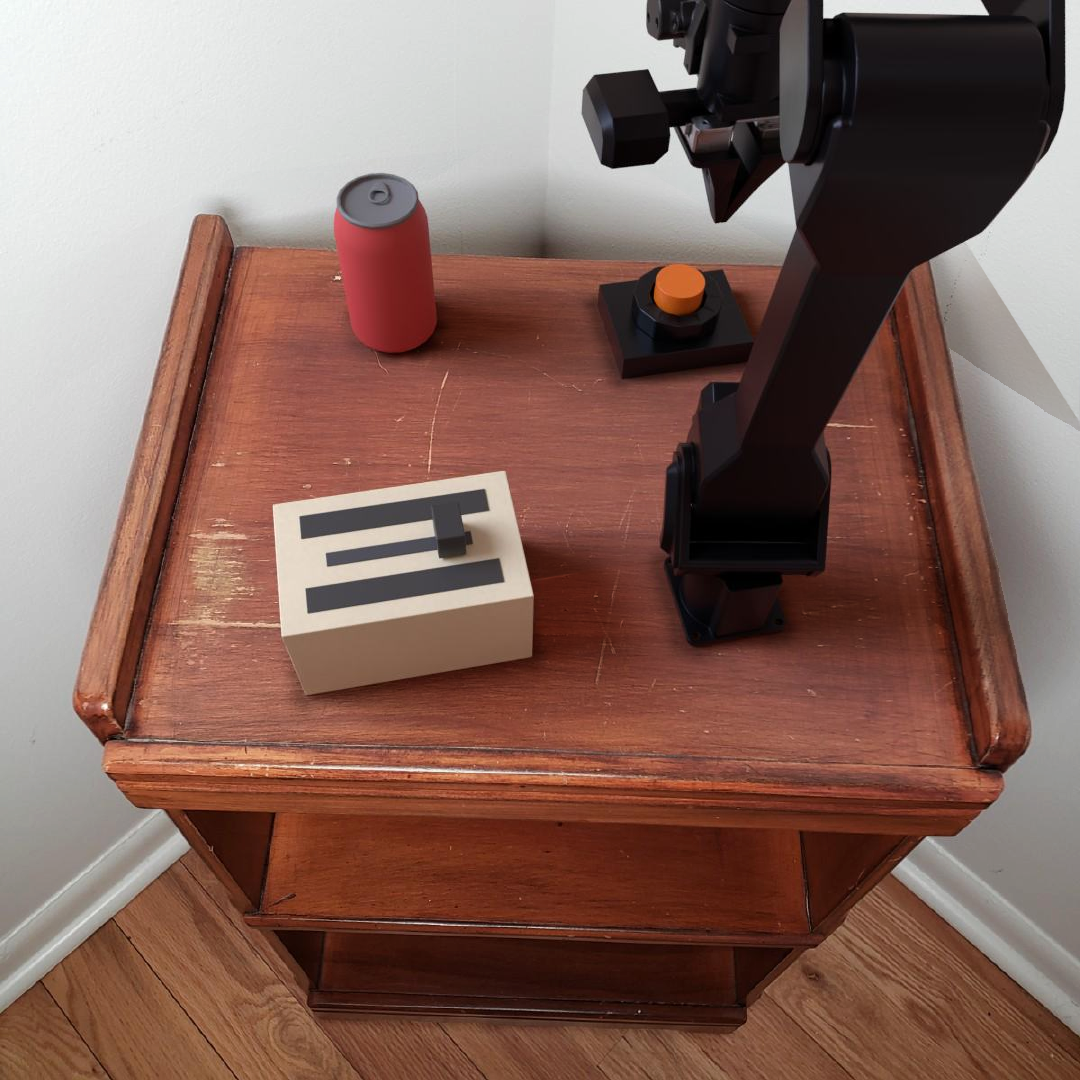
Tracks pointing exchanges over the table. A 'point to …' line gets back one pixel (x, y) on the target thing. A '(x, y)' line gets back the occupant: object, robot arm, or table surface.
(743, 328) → the control block
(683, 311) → the button
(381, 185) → the beer can
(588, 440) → the table surface
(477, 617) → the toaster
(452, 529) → the slider
